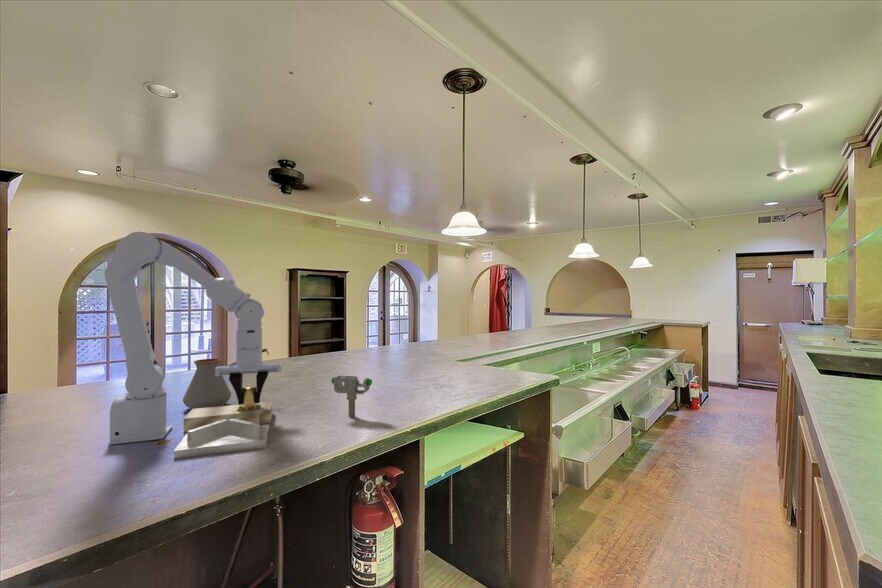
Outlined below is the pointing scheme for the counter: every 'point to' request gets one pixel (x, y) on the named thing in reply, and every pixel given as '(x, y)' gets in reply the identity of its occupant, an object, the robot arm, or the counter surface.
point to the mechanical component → (350, 389)
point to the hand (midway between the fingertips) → (249, 403)
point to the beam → (227, 415)
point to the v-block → (222, 438)
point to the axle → (249, 398)
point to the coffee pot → (207, 386)
